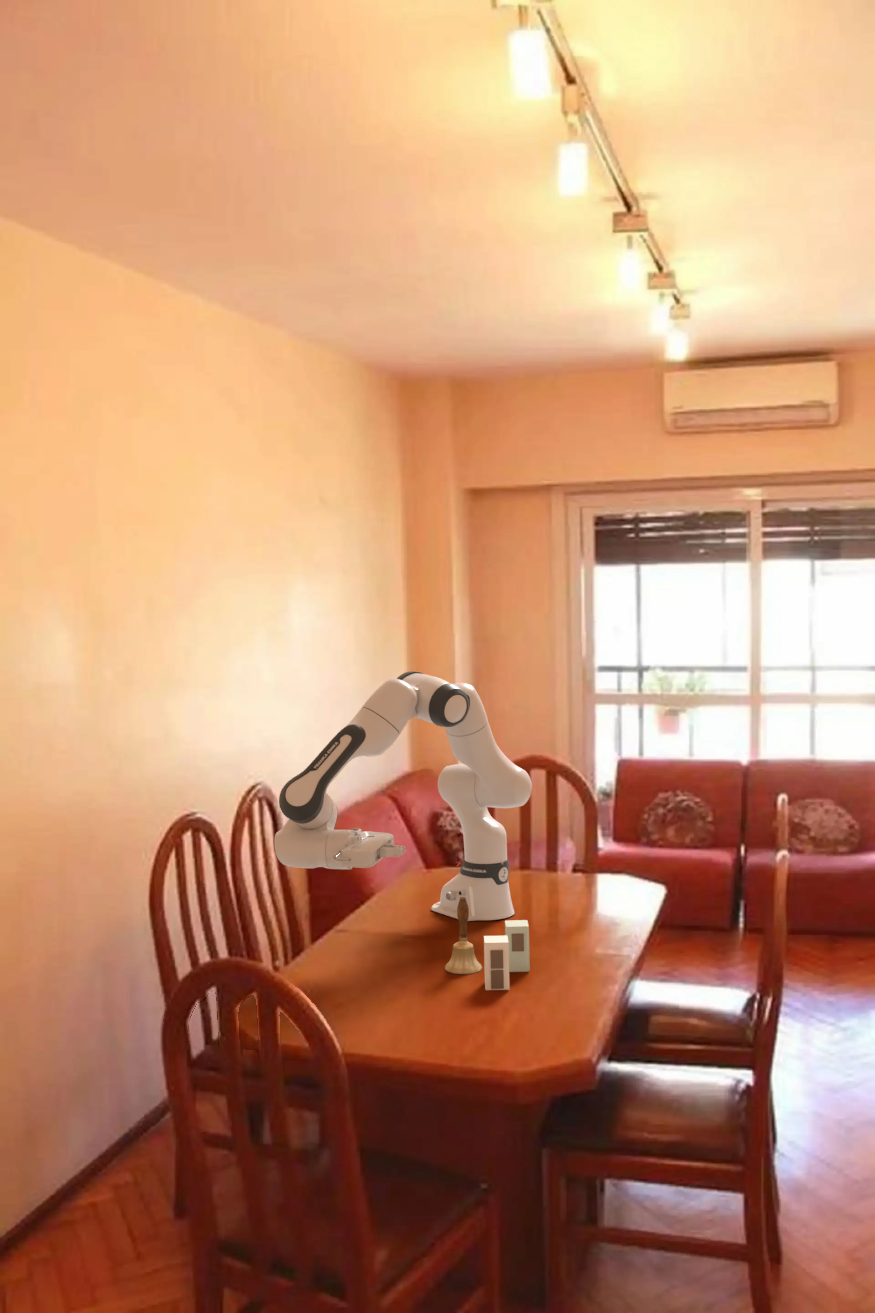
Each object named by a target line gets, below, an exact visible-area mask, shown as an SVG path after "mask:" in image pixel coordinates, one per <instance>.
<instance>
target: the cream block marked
mask: <svg viewBox="0 0 875 1313" xmlns="http://www.w3.org/2000/svg"><path fill="white" fill-rule="evenodd" d="M483 959H484V960H483V962H484V964H483V965H484V967H483V968H484V987H485V988H484V989H485V991H510V990H511V989H510V972H509V942H508V936H507V935H505V934H504V935H483Z"/></svg>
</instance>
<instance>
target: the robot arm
mask: <svg viewBox="0 0 875 1313" xmlns="http://www.w3.org/2000/svg"><path fill="white" fill-rule="evenodd" d="M413 718H415V719H418V720H420V721H423V722H427V723H430V724H434V725H436V726H437V727H442V728H444V729H445V733H446V737H447V740H448V743H449V746H450V747H449V748H450V750H451V753H452V755H453V756H454V758H455V759H456V760H457V761H459V762H460V763H455V764H451V765H446V766H445V767H444V768H443V769H442V770H441V772H440V773H439V775H438V778H437V790H438V793H439V795H440V797H441V799H442V800H443V801H444V802H446V803H447V804H448V805H449V807H451V808H452V810H453V811H454V812H455V815H456V816H457V819H458V821H459V823H460V826H461V830H462V834H463V835H462V836H463V848H464V850H463V852H464V858H463V859H462V860H460V861H456V863H457V865H456V867H460V869H459V872H458V874H456V875H455V876H454V877H452V878H451V879H450V880H449V881H447V882H446V883H445V884H444V885H443V886H442V888H441V890H440V891H441V892H440V897H439V899H440V900H439V901H437V902H436V903H433V905H432V906H431V911H433V912H436V913H439V914H441V915H445V916H447V917H449V918H453V919H456V920H458V917H457V907H458V903H459V900H460V897H466V901H467V904H468V908H469V917H468V921H467V922H471V921H472V922H474V921H496V920H497V921H498V920H502V919H507V918H510V917H512V916H513V915H515V910H514V909H515V908H514V906H513V901H512V897H511V896H512V895H511V890H510V885H509V875H510V862H509V860H510V859H508V841H507V840H508V839H507V838H508V836H507V832H506V829H505V827H504V825H503V824H501V823H500V822H498V821H497V820H496V819H494V818H493V816H491V813H490V812H489V809H488V808H494V809H513V808H518V807H522V806H525V804H527V803H528V801H529V800H530V797H531V795H532V789H533V783H532V779H531V777H530V775H529V773H528V772H527V771H526V770H525V769H523V768H521V767H520V766H518V765H516V764H515V763H514V762H512V760H510V758H508V756H506V755H505V754H504V752H503V751H502V750H501V749H500V747H499V746H498V743H497V742H496V740H495V737H494V735H493V732H492V729H491V725H490V723H489V719H488V715H487V712H486V709H485V706H484V704H483V701H482V699H481V697H480V695H479V694H478V692H477V690H476V688H475V687H474V686H473V685H471V684H469V683H466V682H455V683H450V682H449V681H448V680H445V679H443V678H440V677H437V676H434V675H430V674H426V673H423V672H420V671H413V670H412V671H406V672H404V673H402V674H400V675H399V676H398V677H397V678H390V679H388V680H386V681H384V683H382V684H381V685H380V686H379V687H378V688H377V689H376V690H375V691H374V692H373V693H372V694H371V695H370V696H369V698H368V699H367V700H366V701H365V703H364V704H363V705H362V707H361V708H360V709H359V711H358V712H357V713H356V714H355V715H354V717H353V718H351V720H350V721H349V723H348V724H347V725H346V726H344V727H343V728H341V730H339V731H338V732H337V733H336V734H335V735H334V736H333V738H332V739H331V740H330V741H329V742H328V743H327V744H326V745H325V747H324V748H323V749H322V750H321V751H320V752H319V753H318V754H317V756H316V757H315V758H314V759H313V760H312V762H311V763H310V764H309V765H307V767H306V768H304V770H303V771H301V772H300V773H299V774H297V775H296V776H294V777H292V778H291V779H289V780H288V781H287V782H286V783H285V784H284V785H283V787H281V790H280V793H279V796H278V797H279V798H278V804H279V808H280V811H281V813H282V814H283V815H284V816H285V817H286V818H287V819H288V820H287V821H286V823H285V824H284V825H283V826H282V827H281V829H280V830H278V831H276V833H275V834H274V839H273V850H274V852H275V856H276V858H277V860H278V861H279V862H280V863H281V864H282V865H284V866H286V867H290V868H299V869H300V868H301V869H316V868H325V869H329V870H353V868H360V869H369V868H372V867H374V866H375V865H376V864H377V863H378V862H380V861H381V860H382V859H386V858H387V859H388V858H392V857H402V856H403V855H404V854H405V853H406V846H405V845H398V844H397V845H396V844H395V836H394V835H393V834H392V833H389V832H381V831H380V832H378V831H370V830H369V831H368V830H367V831H366V830H365V831H363V830H362V829H361V828H349V829H335V828H336V824H337V821H338V816H339V815H338V814H339V812H338V810H339V809H338V807H337V805H336V803H335V801H334V799H332V797H331V796H330V795H329V794H328V793H327V791H328V787H330V785H331V784H332V782H333V781H334V780H335V779H336V778H337V777H338V775H339V774H340V773H341V772H342V771H343V770H344V769H345V767H346V766H347V765H348V763H350V762H351V761H352V760H354V759H356V758H360V757H369V758H370V757H372V758H373V757H379V756H381V755H383V754H384V753H385V752H387V750H389V749H390V748H391V746H392V745H393V744H394V743H395V742H396V740H397V739H398V738H399V737H400V735H401V733H402V732H403V730H404V729H405V727H406V726H407V724H408V723H409V721H410V720H411V719H413Z"/></svg>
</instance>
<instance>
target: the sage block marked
mask: <svg viewBox="0 0 875 1313" xmlns="http://www.w3.org/2000/svg"><path fill="white" fill-rule="evenodd" d="M505 935H507V936H508V942H509V973H521V972H523V973H525V972H526V973H528V972H529V973H530V972H531V971H530V970H531V966H530V958H531V957H530V926H529V922H528V919H520V920H519V919H515V920H513V919H512V920H511V919H510V920H504V936H505Z"/></svg>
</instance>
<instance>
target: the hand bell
mask: <svg viewBox="0 0 875 1313" xmlns="http://www.w3.org/2000/svg"><path fill="white" fill-rule="evenodd" d="M457 917H458V919H457V921H458V924H459V940H458V941H457V942H455V943H454V944H453V945H452V952H451V957H450V959H449V961H448V962H447V963H446V965H445V966H444V970H445V971H446V972H448V973H450V974H454V975H471V974H476V973H479V972H481V971H482V970H483V966H482V964H481V963H480V962H479V961H478V959H477V958H476V955H475V948H474V944H473V942H472V943H471V942H469V941H468V929H467V928H468V926H467V924H468V922H469V921H468V917H469V908H468V904H467V901H466V897H460V900H459V903H458V907H457Z"/></svg>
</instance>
